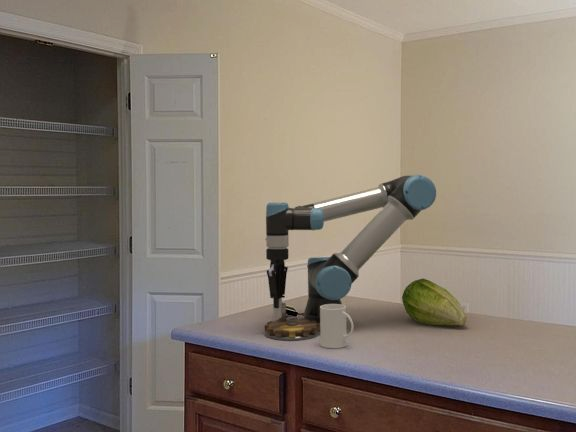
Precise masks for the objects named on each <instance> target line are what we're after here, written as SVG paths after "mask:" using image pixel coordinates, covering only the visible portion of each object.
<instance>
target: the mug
mask: <svg viewBox="0 0 576 432" xmlns="http://www.w3.org/2000/svg"><path fill="white" fill-rule="evenodd" d="M347 319H348V320H349V322H350V325H351V329H350V332H349V333H348V334H347ZM319 324H320V334H319V336H320V340H319V341H320V342H319V345H320V347H322V348H326V349H342V348H345V347H347V346H348V341H347V340H348V338H349V337H351V336H352V334H353V332H354V321H353V319H352V316H351V315H349V313H347V306H346V305H345V304H342V305H341V304H325V305H322V306H320V323H319Z"/></svg>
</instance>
